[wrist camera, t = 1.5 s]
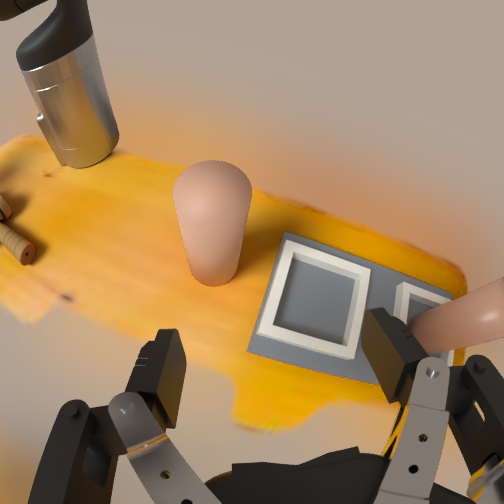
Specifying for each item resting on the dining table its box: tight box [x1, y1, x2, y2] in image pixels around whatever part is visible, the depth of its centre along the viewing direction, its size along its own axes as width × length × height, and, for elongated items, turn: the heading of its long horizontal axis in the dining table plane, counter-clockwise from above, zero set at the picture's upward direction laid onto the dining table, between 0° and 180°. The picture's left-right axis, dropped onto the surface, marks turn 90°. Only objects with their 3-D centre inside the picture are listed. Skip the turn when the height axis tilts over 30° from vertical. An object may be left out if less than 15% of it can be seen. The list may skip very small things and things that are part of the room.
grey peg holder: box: [246, 231, 504, 385], centre depth 22 cm, size 24×13×14 cm, turn 73°
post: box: [173, 161, 252, 287], centre depth 23 cm, size 5×5×13 cm
